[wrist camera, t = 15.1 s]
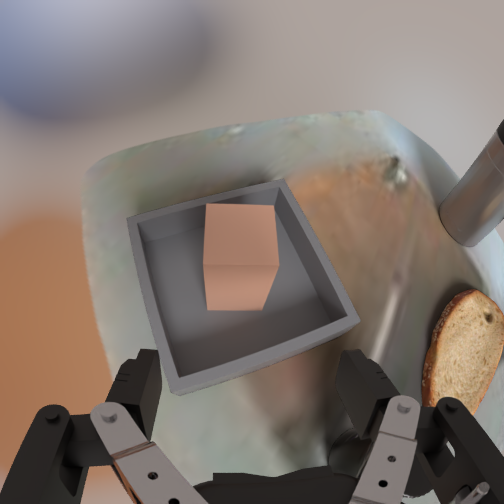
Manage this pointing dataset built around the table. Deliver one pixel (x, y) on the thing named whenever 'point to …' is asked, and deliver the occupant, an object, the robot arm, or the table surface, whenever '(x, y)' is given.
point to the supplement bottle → (352, 456)
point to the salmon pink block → (239, 256)
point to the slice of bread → (463, 350)
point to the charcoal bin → (234, 322)
